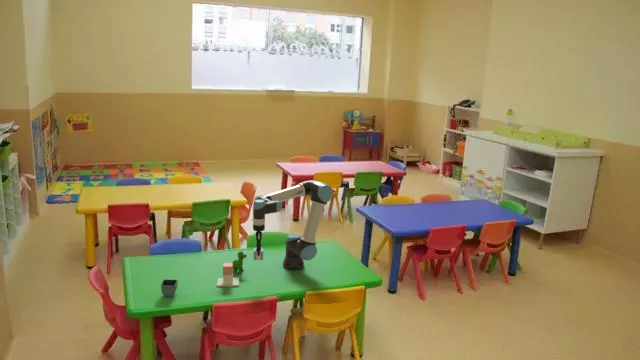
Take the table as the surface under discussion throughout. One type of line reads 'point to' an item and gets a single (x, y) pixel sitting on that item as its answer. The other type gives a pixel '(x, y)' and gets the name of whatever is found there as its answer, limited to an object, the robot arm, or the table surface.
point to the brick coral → (227, 268)
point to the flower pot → (169, 287)
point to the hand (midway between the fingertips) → (258, 257)
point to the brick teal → (255, 253)
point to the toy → (239, 262)
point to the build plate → (235, 283)
